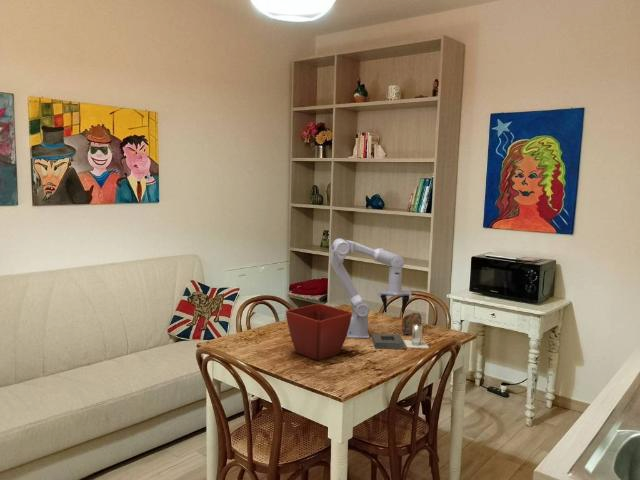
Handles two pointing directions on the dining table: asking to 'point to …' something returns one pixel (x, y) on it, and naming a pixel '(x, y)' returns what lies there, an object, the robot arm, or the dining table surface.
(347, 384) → the dining table surface
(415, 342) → the silver metal cylinder
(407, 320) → the tin
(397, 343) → the housing
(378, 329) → the dining table surface
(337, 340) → the plant pot
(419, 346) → the mat
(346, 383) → the dining table surface
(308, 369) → the dining table surface
